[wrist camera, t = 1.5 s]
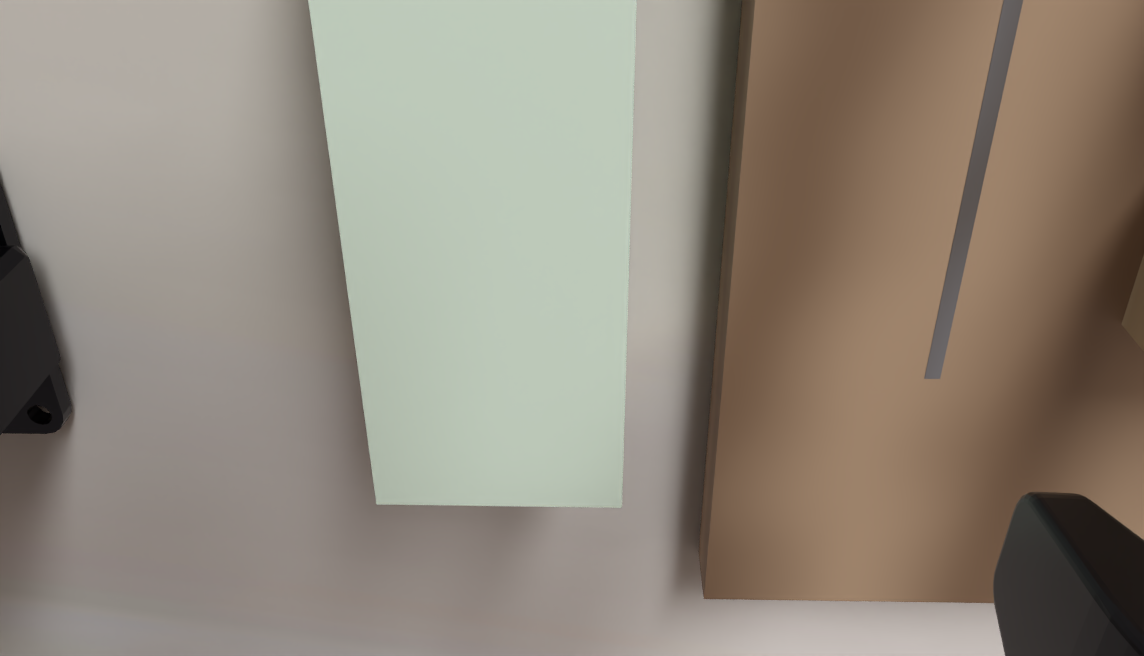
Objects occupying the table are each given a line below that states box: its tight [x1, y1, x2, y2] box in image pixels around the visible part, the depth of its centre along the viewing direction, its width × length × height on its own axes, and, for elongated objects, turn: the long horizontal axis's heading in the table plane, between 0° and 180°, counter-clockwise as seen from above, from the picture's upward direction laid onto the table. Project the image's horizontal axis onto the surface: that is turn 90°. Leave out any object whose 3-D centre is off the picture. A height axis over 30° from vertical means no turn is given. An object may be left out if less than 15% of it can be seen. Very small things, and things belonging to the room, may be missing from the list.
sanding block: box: [308, 0, 637, 508], centre depth 16 cm, size 4×12×6 cm, turn 0°
